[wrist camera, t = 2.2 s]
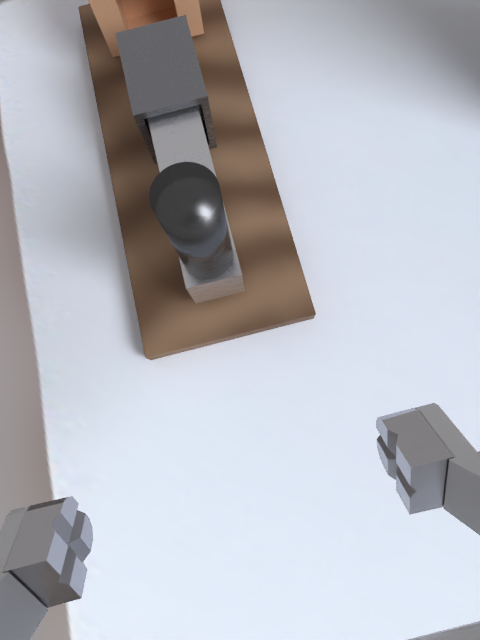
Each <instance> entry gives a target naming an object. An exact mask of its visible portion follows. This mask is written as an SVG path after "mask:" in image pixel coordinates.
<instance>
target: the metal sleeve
mask: <svg viewBox="0 0 480 640" xmlns="http://www.w3.org/2000/svg"><path fill="white" fill-rule="evenodd" d="M115 34H116V39H117V44H118V48H119V53H120V57H121V62H122V67H123V71H124V76H125V81H126V85H127V90H128V95H129V99H130V104H131V108H132V113H133V117H134V119H135V121H136V123H137V125H138V128H139V130H140V132H141V134H142V137H143V139H144V141H145V143H146V145H147V148H148V150H149V152H150V154H151V156H152V159H153V161H154V163H155V164H156V163H157V158H156V154H155V149H154V145H153V140H152V136H151V132H150V127H149V123H148V118H150V117H154V116H158V115H162V114H165V113H169V112H173V111H177V110H181V109H185V108H188V107H192V106H196V105H198V109H199V113H200V117H201V120H202V124H203V128H204V132H205V136H206V139H207V143H208V147H209V150H210V149H214V148H217V143H216V138H215V132H214V127H213V121H212V116H211V111H210V105H209V100H208V95H207V91H206V87H205V84H204V80H203V77H202V73H201V69H200V66H199V62H198V58H197V55H196V51H195V47H194V44H193V40H192V36H191V33H190V29H189V25H188V22H187V18H186V15H183V16H179V17H175V18H171V19H167V20H164V21H160V22H156V23H152V24H148V25H145V26H141V27H137V28H133V29H129V30H126V31H122V32H118V33H115Z"/></svg>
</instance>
